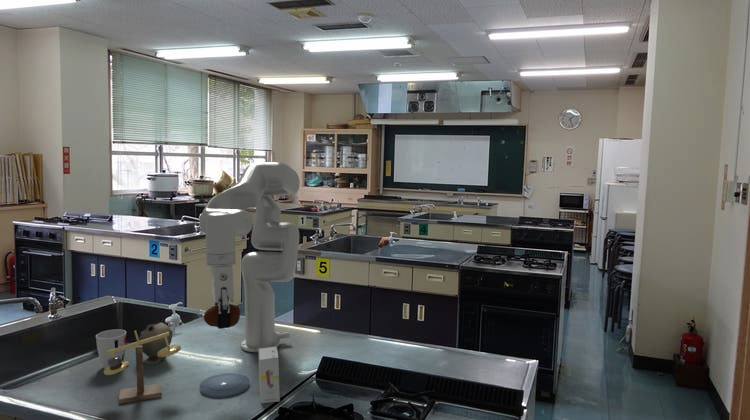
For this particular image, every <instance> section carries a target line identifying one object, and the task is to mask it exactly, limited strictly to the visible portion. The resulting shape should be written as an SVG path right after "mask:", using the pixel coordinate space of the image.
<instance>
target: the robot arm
mask: <svg viewBox="0 0 750 420" xmlns="http://www.w3.org/2000/svg"><path fill="white" fill-rule="evenodd" d="M300 183H301V182H300V177H299V175H298V173H297V171H296V170H295V169H293V168H292V167H291V166H289V165H288V164H286V163H284V162H278V161H277V162H273V161H271V162H269V161H266V162H265V161H259V162H258V161H257V162H251V163H249V164H248V165H247V166H246V168H245V169H244V171H243V172H242V174H241V176H240V178H239V179H238V181H237V182H236V185H234V186H232V187H230V188H227V189H226V190H223V191H221V192H220V193H218V194H216V195H214V196H213V197H212V198H210V200H208V202H207V203H206V206H205V207H204V209H203V210H202V213H201V215H200V218H199V227H200V230H201V232H202V233H204V235H205V261H206V262H205V263H206V264H205V265H206V267H207V266H208V267H210V280H211V293H212V297H213V301H214V306H216V305H218V312H219V313H218V314H217V318H218V327H217V329H220V330H222V329H229V328H231V327H230V309H229V304H230V302H231V303H234V302H235V287H234V286H235V285H234V282H235V281H234V272H233V266H234V265H236V237H244V236H246V235H248V234H249V233H250V232H251V238H250V239H251V240H250V243H251V245H252V246H253V248H255V249H258V250H260V251H251V252H248V253H246V254H245V255H244V256H243V257H242V258H241V261H240V268H241V269H240V270H241V275H242V280H243V286H244V287H243V288H244V318H245V323H244V325H245V326H244V327H245V339H244V340H242V341H241V342H240V348H241V350H243V351H245V352H248V353H249V352H250V353H259V349H261V348H269V347H277V348H279V346H280V343H281V342H280V341H281V339H289V338H290V333H289V331H287V332H284V330H282V331H276V328H275V327H276V325H275V324H276V322H275V321H276V320H275V319H276V317H275V314H276V312H275V310H276V309H275V292H274V290H273V287H272V286H271V284H270V283H269V282H278V283H281V282H282V283H283V282H285V283H286V282H290V281H291V280H293V278H294V277H295V273H296V270H297V269H296V268H297V260H298V254H299V253H298V252H299V246H300V231H299V228H298V225H296V224H295V223H293V222H288V221H287V222H286V221H284V222H283V221H281V216H282V211H281V208H280V205H279V204H278V203H277V202H276V200H275V199H274V198H273V197H272V196H294V195H295V194H297V193H298V191H299V189H300V186H301V185H300ZM253 207H255V213H254V218H253V216H252V214H251V213H250V212H249V211H248V209H249V208H250V209H251V208H253ZM246 209H247V210H246ZM261 250H262V251H261ZM275 251H276V252H275ZM277 251H281V252H277ZM220 305H222V306H220Z"/></svg>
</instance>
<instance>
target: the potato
mask: <svg viewBox="0 0 750 420" xmlns="http://www.w3.org/2000/svg"><path fill="white" fill-rule="evenodd" d="M220 306H222V305H220ZM229 309H230V328H231V327H234V326H235V325H237V324H238V322H239V320H240V317H241V310H240V307H239V306H238V305H237V304H231V303H229ZM218 313H219V312H218V305H216V306H215V305H214V306H212V307H210V308H209V309H207V310H206V311H205V312H204V313H203V320H204V323H206V324H207V325H208V326H210V327H215V328H218V318H217V314H218Z"/></svg>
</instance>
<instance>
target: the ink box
mask: <svg viewBox="0 0 750 420" xmlns="http://www.w3.org/2000/svg"><path fill="white" fill-rule="evenodd" d="M258 382H259V383H258V386H259V388H258V389H259V390H258V391H259V397H260V398H259V399H260V403H261V404H267V403H269V404H270V403H276V402H280V401H281V399H280V367H279V353H278V347H269V348H261V349H259V352H258Z"/></svg>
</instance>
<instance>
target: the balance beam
mask: <svg viewBox="0 0 750 420" xmlns="http://www.w3.org/2000/svg"><path fill="white" fill-rule="evenodd" d="M137 332H138V331H137V330H134V335H135V339H136V341H135V342H131V343H128V344H126V345H125V346H121V347H118V348H115V349H112V350H109V351H107V354H108V355H109V354H111V355H112V358H110V359H108V360H107V361H108V364H109V367H107V368H106V369H103V373H104V375H105V376H110V375H111V376H112V375H115V374H118V373H121V372H123V371H125V370H126V369H128V368H129V367H130V362H129V361H124V360H123V362H122V361H121V358H120V356H114V353H116V352H119V351H122V350H125V351H126V350H129V349H131V348H134V347H135V348H136V346H138V345H141V344H144V343H147V342H150V341H154V340H157V339H160V338H163V337H165V341H166V345H167V347H165V348H163V349H161V350H160V351H159V352H158V353H157V355H158V357H165V358H167V357H171V356H173V355H176V354H177V353H178V352H180V351H181V350H182V346H181V345H180V344H170V346H169V344H168V340H167V337H166V336H169V332H166V333H163V334H160V335H157V336H153V337H150V338H147V339H144V340H141V341H139V336H138V335H139V334H138V333H137Z"/></svg>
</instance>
